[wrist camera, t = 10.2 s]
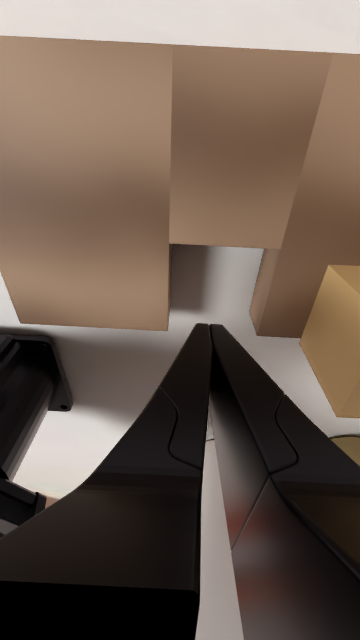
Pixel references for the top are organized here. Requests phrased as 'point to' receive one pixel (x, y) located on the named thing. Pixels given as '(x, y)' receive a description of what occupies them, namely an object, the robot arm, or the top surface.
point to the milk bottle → (216, 561)
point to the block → (336, 339)
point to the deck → (172, 175)
